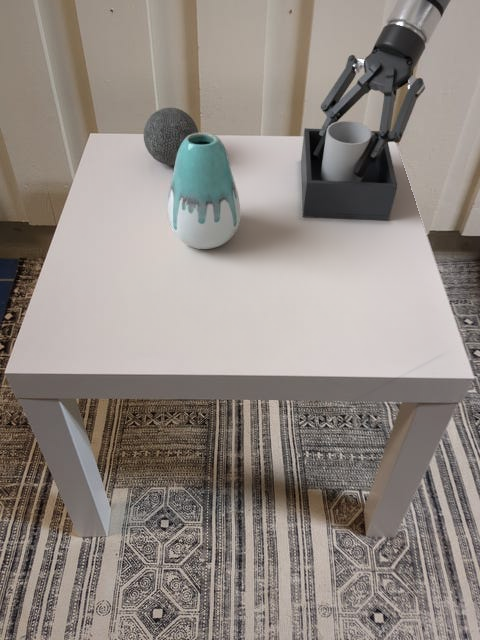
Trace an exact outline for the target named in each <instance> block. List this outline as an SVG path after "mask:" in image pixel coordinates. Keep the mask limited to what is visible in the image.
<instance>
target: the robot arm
mask: <svg viewBox="0 0 480 640" xmlns="http://www.w3.org/2000/svg"><path fill="white" fill-rule="evenodd" d="M450 2H451V0H397V1H396V2H395V4H394V6H393V9H391V10H392V11H391V12H390V14H389V16H388V18H387V19H386V25H385V26H383V27H382V29H381V31H380V33H379V35H378V37H377V39H376V41H375V43H374V44H373V48H372V50H371V52H370V53H369V54H368V55H367V56H366V57H365V58H359V57H356V56H355V55H354V54H351V55H349V56H348V58H347V62H346V64H345V68H344V70H343V71H342V73H340V75H339V77H338V78H337V80H336V82H335V83H334V85H333V86H332V88H331V89H330V91H329V92H328V94H327V95H326V97H325V98H324V100H323V101H322V103H321V104H320V110H321V111H322V112H323V113H324V114H325V115H326V118H325V121H324V122H323V124H322V126H321V128H320V129H321V130H320V133H319V135H320V136H321V137H322V138H321V140H320V142H319V144H318V146H317V148H316V150H315V152H314V155H315V156H316V157H317V158H318V159H319V160H322V159H323V154H324V146H325V139H326V132H327V128H328V126H329V125H331V124H332V123H335V122H338V121H340V120H341V118H342V117H343V116H345V114H347V113H348V111H350V109H351V108H352V107H354V105H355V104H356V103H357V102H359V100H361V99H362V98H363V96H365V95H366V94H368V93H369V92H371V91H376V92H377V91H378V92H380V93H382V94H383V103H382V108H381V109H382V111H381V117H380V124H379V130H378V131H379V132H378V135H379V137H377V136H375V135H373V136H372V138H371V140H370V142H369V144H368V145H367V147H366V149H365V151H364V153H363V155H362V157H361V159H360V161H359V162H358V164H357V166H356V168H355V170H354V173H355V174H356V175H357V176H358V177H360V178H362V176H363V174H364V172H365V171H366V169H367V167H368V165H369V163H370V161H371V159H374V160H377V159H378V158H379V156H380V154H381V152H382V150H383V148H384V146H385V145H386V143H388V144H389V143H396V144H398V143H400V142H401V140H402V138H403V136H404V133H405V131H406V129H407V126H408V123H409V121H410V118H411V115H412V113H413V110H414V108H415V105H416V103H417V100H418V99H419V97H420V96H421V95H422V93H424V91H425V90H426V86H425V82H424V79H423V78H422V77H416V76H414V70H415V68H416V67H417V64H418V63H419V61H420V59H421V57H422V55H423V53H424V51H425V50H426V44H428V43H429V42H430V40H431V38H432V36H433V34H434V32H435V31H436V29H437V27H438V25H439V23H440V21H441V20H442V18H443V15H444V13H445V11H446V10H447V7H448V6H449V4H450ZM362 69H364V71H363V72H364V73H363V74H362V75H361V76H360V78H358V80H357V82H356V84H355V85H354V86H352V87H351V89H350V90H348V88H349V87H350V86H351V84H352V83H353V81H354V80H355V78H356V75H357V74H359V73H360V71H361V70H362ZM407 84H408V85H407ZM405 85H407V89H408V90H407V91H406V94H405V96H404V99H403V101H402V104H401V106H400V109H399V112H398V114H397V116H396V119H395V122H394V124H393V126H392V123H393V116H394V109H395V103H396V100H397V94H398V90H399V89H401V88H402V87H404V86H405ZM347 90H348V92H347V93H346V91H347ZM345 93H346V94H345Z"/></svg>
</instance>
